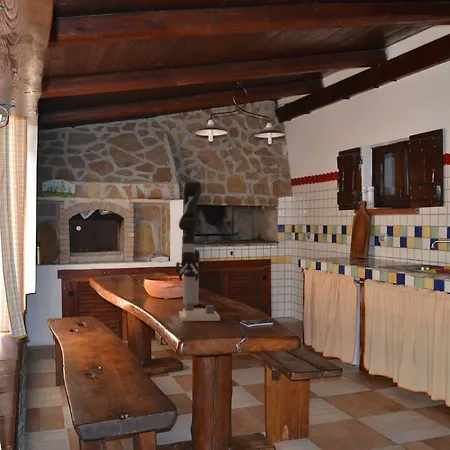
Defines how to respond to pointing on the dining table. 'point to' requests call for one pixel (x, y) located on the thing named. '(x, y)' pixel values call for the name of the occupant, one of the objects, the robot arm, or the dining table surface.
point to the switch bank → (198, 315)
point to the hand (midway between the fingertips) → (188, 280)
